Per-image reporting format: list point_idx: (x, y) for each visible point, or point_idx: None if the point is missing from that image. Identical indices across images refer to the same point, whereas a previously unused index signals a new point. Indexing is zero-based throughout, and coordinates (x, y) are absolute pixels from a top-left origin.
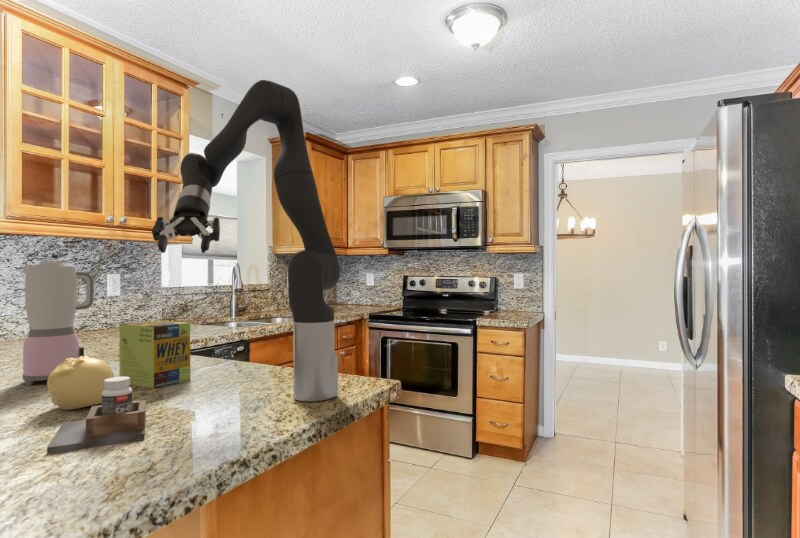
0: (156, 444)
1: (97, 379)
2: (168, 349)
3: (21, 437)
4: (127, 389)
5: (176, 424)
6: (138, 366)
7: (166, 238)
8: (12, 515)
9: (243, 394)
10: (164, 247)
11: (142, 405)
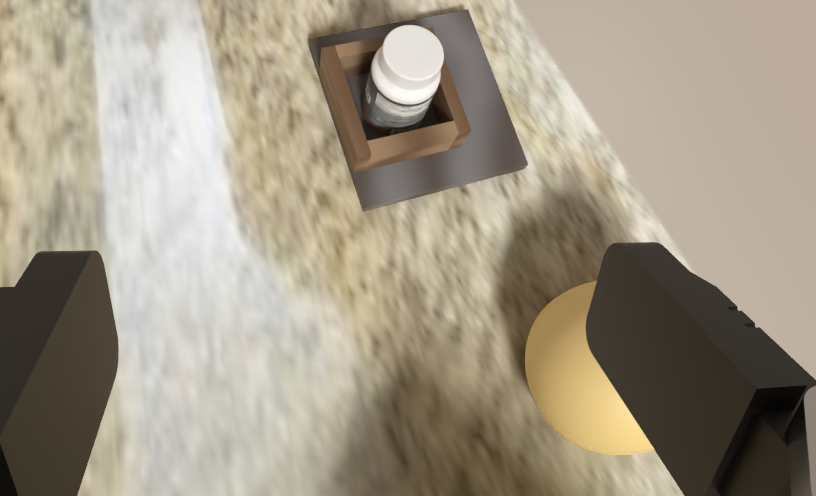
0: (272, 9)
1: (559, 307)
2: None
3: (573, 129)
4: (379, 55)
5: (264, 131)
6: None
7: (727, 431)
8: None
9: (105, 413)
10: (618, 317)
11: (346, 104)
